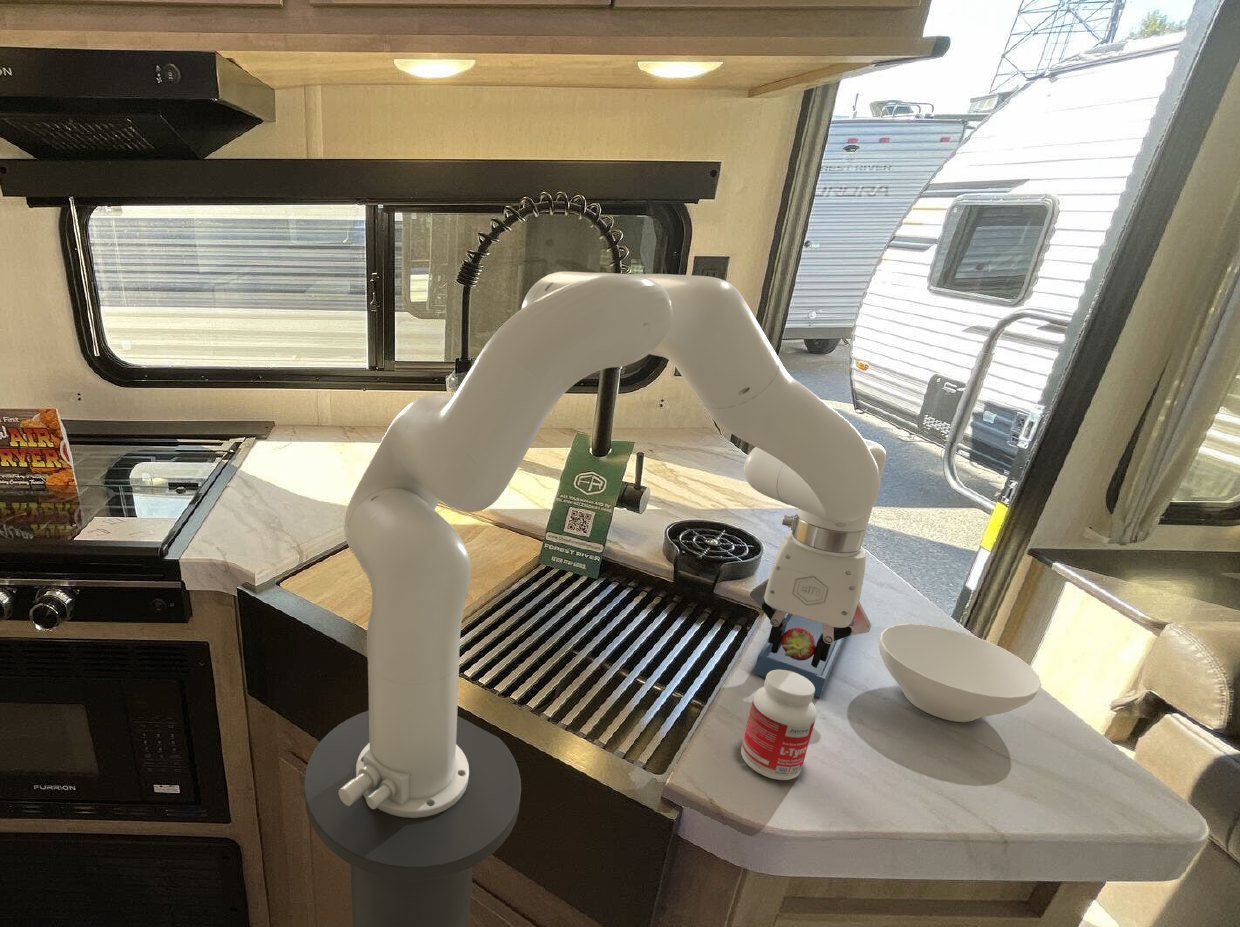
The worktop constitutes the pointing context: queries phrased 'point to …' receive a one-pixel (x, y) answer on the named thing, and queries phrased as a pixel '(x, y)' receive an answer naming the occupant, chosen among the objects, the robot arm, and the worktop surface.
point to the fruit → (798, 644)
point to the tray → (781, 662)
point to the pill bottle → (780, 725)
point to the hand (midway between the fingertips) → (795, 654)
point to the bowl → (955, 672)
